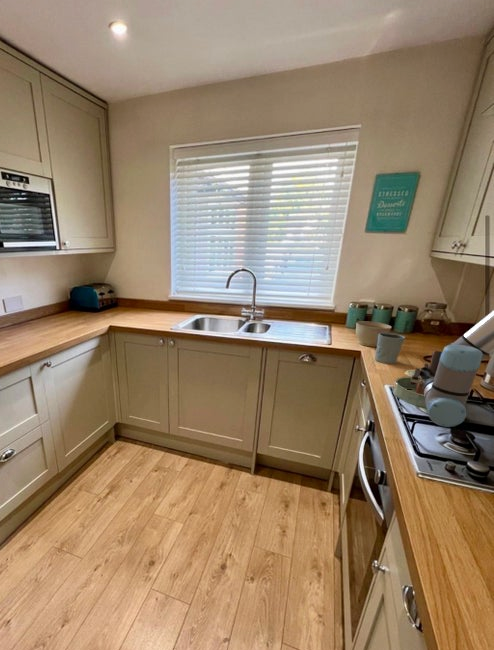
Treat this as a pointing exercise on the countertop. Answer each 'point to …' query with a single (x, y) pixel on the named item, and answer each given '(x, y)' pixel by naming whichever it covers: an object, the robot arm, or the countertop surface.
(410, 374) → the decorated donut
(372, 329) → the planter bowl
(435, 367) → the dark brown bar
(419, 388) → the block
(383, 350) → the blue grey cup
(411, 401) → the bowl
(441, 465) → the countertop surface
